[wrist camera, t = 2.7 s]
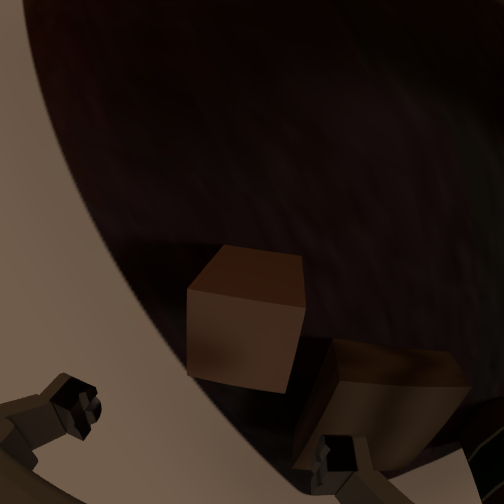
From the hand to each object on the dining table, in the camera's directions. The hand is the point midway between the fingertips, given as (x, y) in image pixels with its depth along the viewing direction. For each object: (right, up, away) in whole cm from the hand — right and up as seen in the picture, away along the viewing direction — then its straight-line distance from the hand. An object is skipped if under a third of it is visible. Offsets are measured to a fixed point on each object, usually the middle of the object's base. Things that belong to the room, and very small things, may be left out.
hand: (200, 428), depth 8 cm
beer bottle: (+29, -14, +13) cm, 35 cm away
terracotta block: (+2, +4, +11) cm, 12 cm away
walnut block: (+12, -6, +13) cm, 19 cm away
